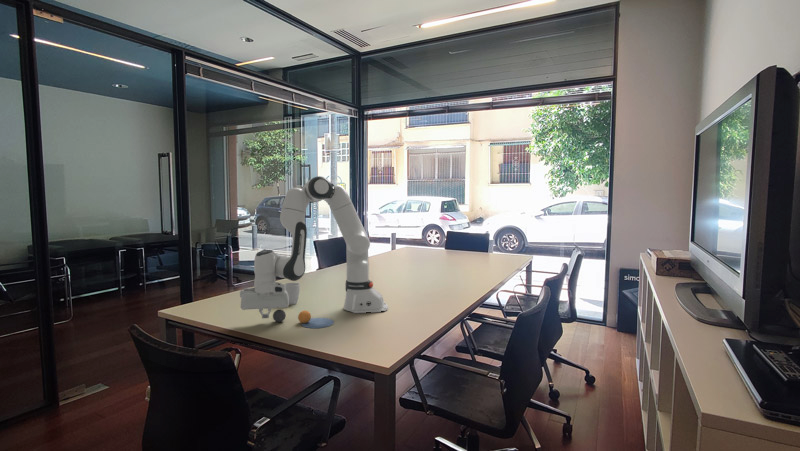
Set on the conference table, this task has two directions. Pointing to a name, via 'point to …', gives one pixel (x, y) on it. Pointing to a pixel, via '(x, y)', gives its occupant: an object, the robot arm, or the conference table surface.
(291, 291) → the cup
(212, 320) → the conference table surface
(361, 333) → the conference table surface
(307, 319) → the orange ball
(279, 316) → the dark gray ball
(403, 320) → the conference table surface
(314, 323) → the blue mark
